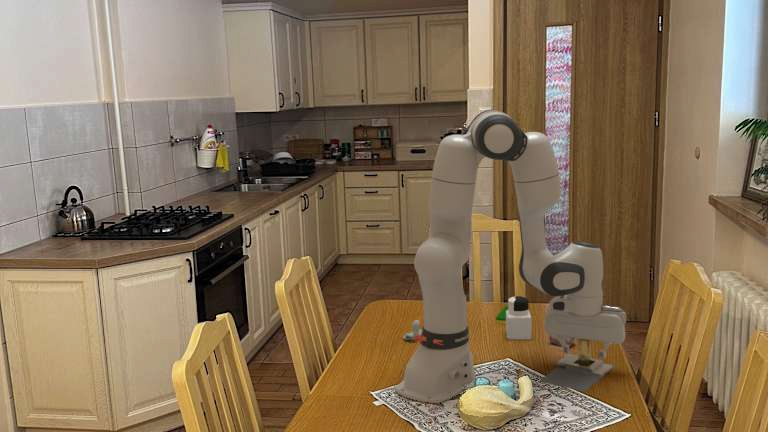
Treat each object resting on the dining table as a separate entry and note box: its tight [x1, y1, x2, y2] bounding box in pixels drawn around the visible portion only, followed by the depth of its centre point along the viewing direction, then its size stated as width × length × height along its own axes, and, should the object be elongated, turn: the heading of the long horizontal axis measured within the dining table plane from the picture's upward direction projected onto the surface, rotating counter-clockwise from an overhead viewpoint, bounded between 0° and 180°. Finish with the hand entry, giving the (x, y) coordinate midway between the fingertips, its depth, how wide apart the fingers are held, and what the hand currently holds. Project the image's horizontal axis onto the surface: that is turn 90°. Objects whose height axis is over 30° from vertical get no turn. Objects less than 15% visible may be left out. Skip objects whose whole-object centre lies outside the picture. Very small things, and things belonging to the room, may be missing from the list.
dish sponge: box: [495, 305, 508, 326], centre depth 234 cm, size 7×14×2 cm, turn 158°
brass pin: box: [577, 339, 591, 366], centre depth 186 cm, size 3×3×8 cm
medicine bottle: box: [505, 295, 533, 341], centre depth 216 cm, size 7×7×12 cm
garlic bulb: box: [548, 335, 576, 348], centre depth 208 cm, size 8×7×8 cm
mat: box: [539, 362, 616, 393], centre depth 183 cm, size 20×12×2 cm, turn 142°
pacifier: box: [402, 319, 423, 342], centre depth 218 cm, size 7×6×6 cm
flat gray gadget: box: [556, 353, 613, 378], centre depth 186 cm, size 7×12×2 cm, turn 52°
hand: (583, 354), depth 186 cm, fingers open, 8 cm apart
